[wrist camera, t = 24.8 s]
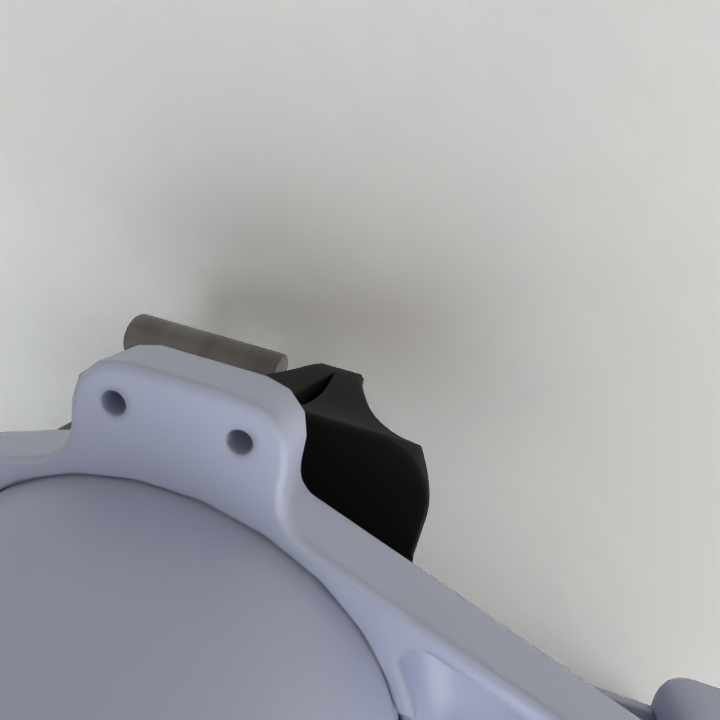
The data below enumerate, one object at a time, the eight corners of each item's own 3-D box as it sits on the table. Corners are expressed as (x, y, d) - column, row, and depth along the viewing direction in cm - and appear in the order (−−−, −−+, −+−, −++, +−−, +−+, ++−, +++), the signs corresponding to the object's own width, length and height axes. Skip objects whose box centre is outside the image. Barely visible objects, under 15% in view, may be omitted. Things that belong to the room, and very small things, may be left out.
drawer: (131, 281, 18) (-1, 306, 13) (378, 350, 17) (346, 409, 12) (110, 606, 24) (12, 718, 19) (295, 673, 23) (248, 811, 18)
